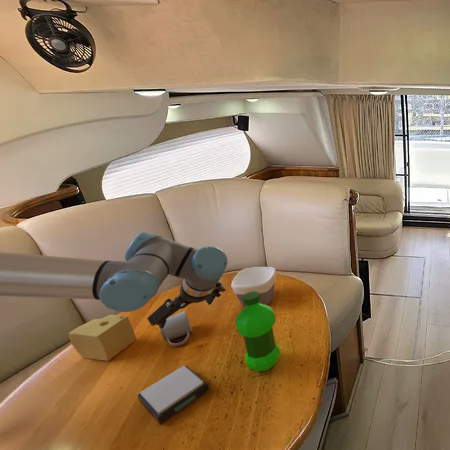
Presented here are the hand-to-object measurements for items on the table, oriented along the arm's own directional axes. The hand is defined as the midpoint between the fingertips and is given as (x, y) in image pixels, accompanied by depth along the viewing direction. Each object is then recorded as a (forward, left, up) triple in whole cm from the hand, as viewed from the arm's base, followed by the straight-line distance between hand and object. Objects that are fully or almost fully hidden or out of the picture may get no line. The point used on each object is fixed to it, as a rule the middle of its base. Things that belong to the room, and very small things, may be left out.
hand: (185, 312), depth 96 cm
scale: (-12, -14, -14) cm, 23 cm away
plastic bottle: (+8, -25, -15) cm, 30 cm away
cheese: (-15, +23, -15) cm, 31 cm away
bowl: (+28, +7, -15) cm, 32 cm away
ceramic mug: (0, +10, -15) cm, 18 cm away
